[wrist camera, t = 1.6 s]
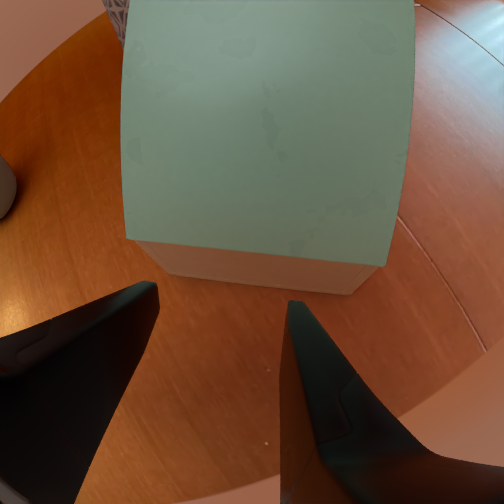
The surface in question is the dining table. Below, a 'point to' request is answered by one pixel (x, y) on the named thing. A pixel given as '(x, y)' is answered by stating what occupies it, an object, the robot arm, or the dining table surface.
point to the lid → (267, 124)
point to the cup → (6, 187)
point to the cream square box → (258, 268)
